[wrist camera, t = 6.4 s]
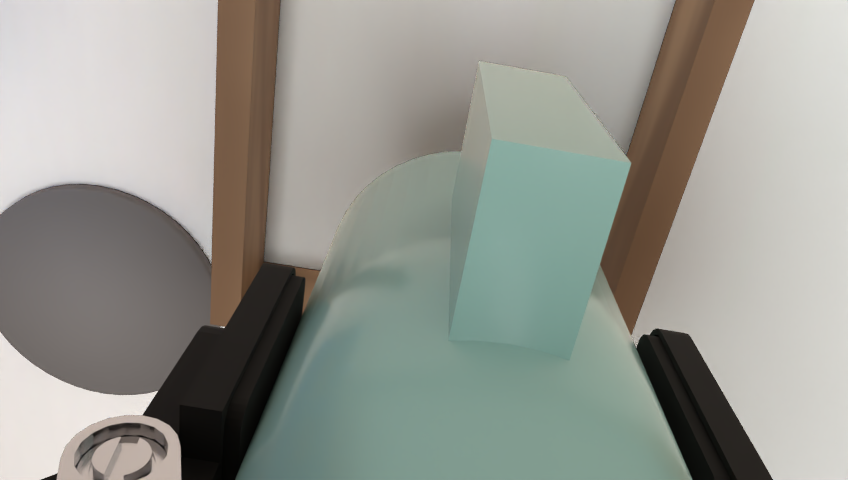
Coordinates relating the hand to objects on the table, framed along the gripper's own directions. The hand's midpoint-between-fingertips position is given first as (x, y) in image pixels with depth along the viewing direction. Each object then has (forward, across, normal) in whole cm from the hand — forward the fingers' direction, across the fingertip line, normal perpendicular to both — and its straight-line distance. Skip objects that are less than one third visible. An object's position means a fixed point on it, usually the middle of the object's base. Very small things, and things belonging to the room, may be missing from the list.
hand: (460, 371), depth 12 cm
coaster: (+12, +12, +8) cm, 19 cm away
